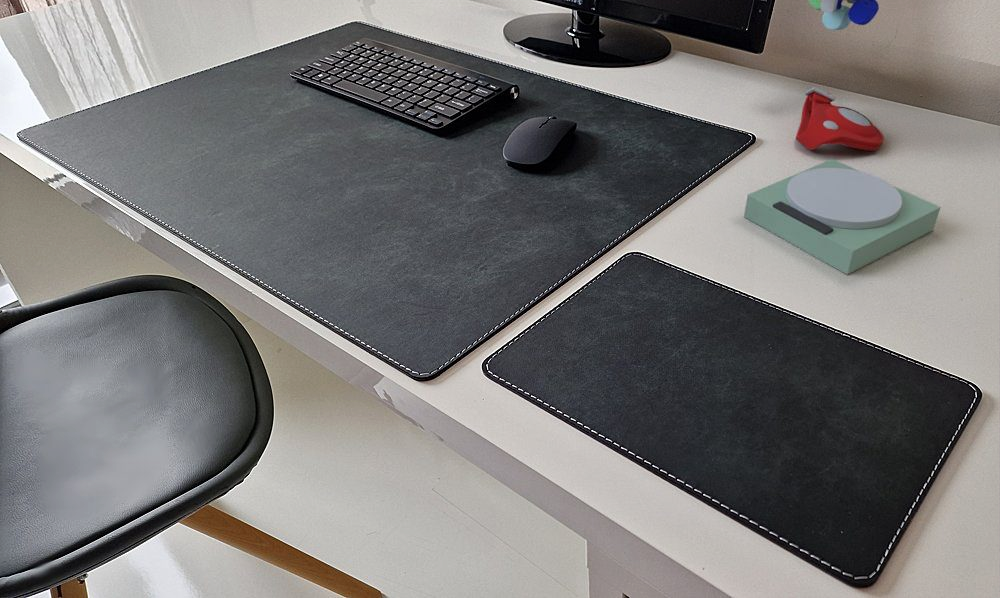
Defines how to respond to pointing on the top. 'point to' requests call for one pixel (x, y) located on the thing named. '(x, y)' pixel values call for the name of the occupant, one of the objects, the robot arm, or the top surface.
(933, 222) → the scale
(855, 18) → the dice
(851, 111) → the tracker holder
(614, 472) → the top surface
